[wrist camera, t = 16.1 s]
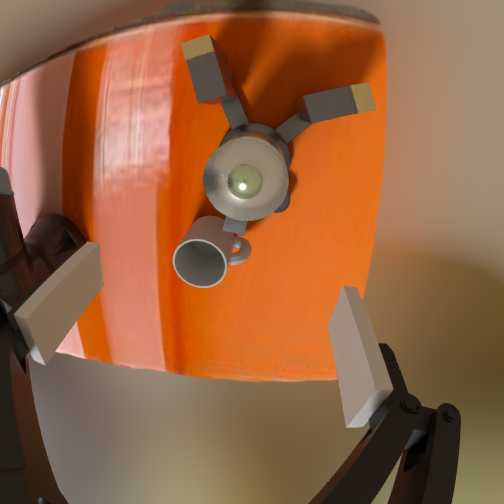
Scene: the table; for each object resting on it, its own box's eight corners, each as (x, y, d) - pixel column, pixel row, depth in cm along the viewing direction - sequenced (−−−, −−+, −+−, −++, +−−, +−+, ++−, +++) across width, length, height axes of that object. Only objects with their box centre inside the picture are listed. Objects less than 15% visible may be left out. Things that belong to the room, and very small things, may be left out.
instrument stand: (198, 190, 42) (165, 229, 29) (221, 86, 35) (194, 74, 22) (287, 212, 43) (294, 261, 30) (317, 111, 36) (343, 111, 23)
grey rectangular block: (239, 99, 36) (226, 94, 25) (216, 105, 36) (195, 103, 26) (226, 53, 33) (210, 33, 22) (204, 60, 33) (179, 43, 23)
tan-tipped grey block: (301, 121, 37) (312, 124, 26) (294, 99, 35) (303, 94, 25) (348, 109, 35) (377, 110, 25) (342, 88, 34) (369, 81, 24)
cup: (187, 213, 44) (169, 238, 36) (253, 214, 43) (248, 239, 35) (191, 255, 47) (176, 286, 39) (253, 257, 47) (249, 289, 39)
